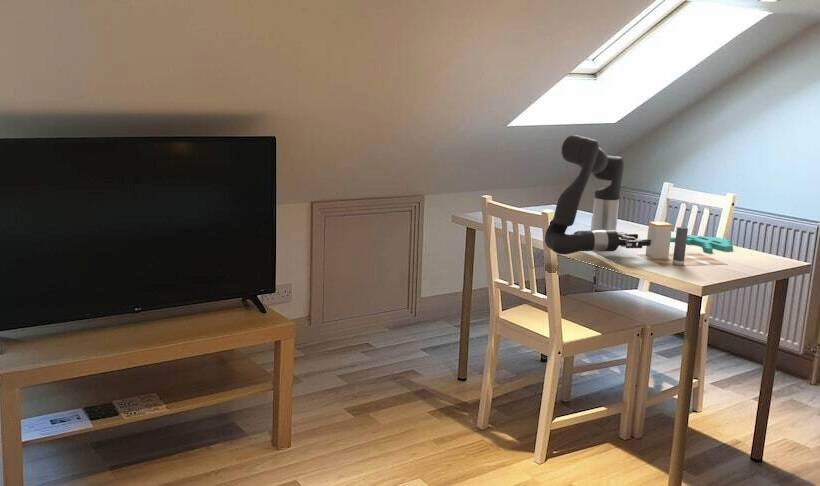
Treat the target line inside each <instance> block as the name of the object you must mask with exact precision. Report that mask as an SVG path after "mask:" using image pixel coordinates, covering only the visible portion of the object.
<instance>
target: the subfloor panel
mask: <svg viewBox="0 0 820 486" xmlns="http://www.w3.org/2000/svg"><path fill="white" fill-rule="evenodd" d="M636 255H637V256H640V257H642V258H644V259H646V260H648V261H651V262H653V263H655V264H656V265H659V266H662V267H664V268H665V267H666V268H667V267H670V268H671V267H690V266H691V267H694V266H695V267H699V266H700V267H701V266H725V265H726V266H728V265H729V264H728V263H725V262H723V261H720V260H718V259H715V258H713V257H710V256H709V255H705V254H703V253H700V252H685V258H684V265H682V266H680V265H674V264H672V262H673V256H674V252H673V253H670V252H669V256H668V258H652V257H650V256H648V255H646V253H644V254H643V253H640V254H639V253H638V254H636Z"/></svg>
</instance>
